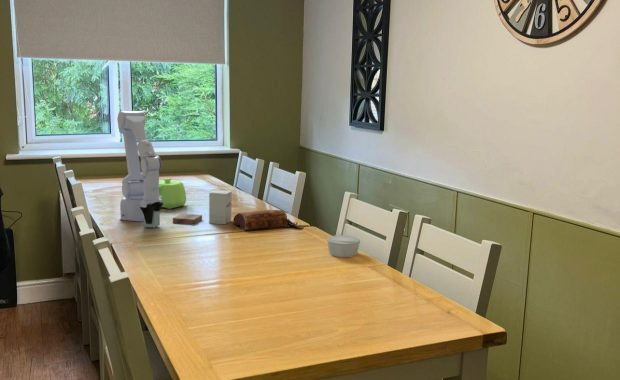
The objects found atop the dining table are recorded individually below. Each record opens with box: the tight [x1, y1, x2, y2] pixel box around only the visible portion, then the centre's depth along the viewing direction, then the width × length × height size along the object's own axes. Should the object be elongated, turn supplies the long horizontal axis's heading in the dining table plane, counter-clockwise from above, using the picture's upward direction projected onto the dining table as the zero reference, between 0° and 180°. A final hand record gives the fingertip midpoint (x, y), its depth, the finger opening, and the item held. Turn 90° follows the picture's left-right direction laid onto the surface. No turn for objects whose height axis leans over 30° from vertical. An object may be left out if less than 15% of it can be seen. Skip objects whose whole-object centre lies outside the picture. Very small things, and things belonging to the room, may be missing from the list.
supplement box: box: [208, 189, 233, 225], centre depth 242 cm, size 7×7×13 cm
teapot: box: [159, 177, 187, 210], centre depth 271 cm, size 18×20×13 cm
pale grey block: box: [143, 210, 161, 228], centre depth 230 cm, size 4×4×6 cm
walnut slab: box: [172, 213, 203, 225], centre depth 243 cm, size 9×9×2 cm
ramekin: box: [326, 234, 361, 258], centre depth 201 cm, size 11×11×5 cm
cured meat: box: [232, 209, 304, 231], centre depth 238 cm, size 18×25×7 cm
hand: (151, 222), depth 231 cm, fingers closed on pale grey block, 4 cm apart
